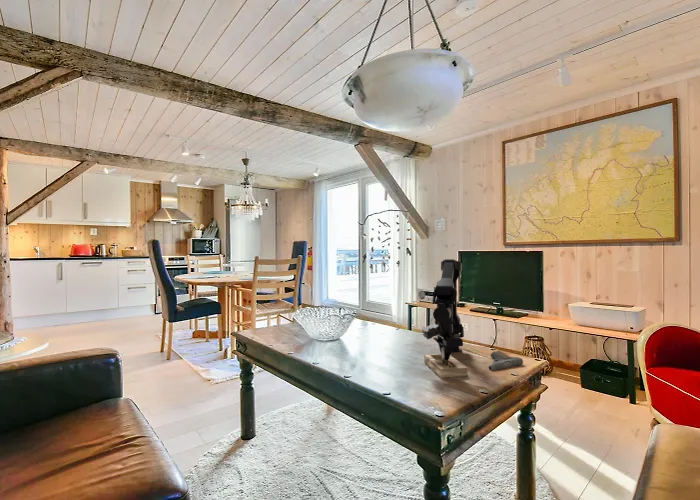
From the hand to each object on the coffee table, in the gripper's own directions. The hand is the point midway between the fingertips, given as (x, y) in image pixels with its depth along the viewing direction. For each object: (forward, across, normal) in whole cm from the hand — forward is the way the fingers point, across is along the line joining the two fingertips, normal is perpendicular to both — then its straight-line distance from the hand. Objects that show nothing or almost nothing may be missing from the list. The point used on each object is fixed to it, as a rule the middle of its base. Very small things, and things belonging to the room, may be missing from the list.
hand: (444, 359), depth 135 cm
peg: (+3, 0, 0) cm, 3 cm away
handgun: (+4, -4, +23) cm, 24 cm away
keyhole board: (+4, 0, 0) cm, 4 cm away
